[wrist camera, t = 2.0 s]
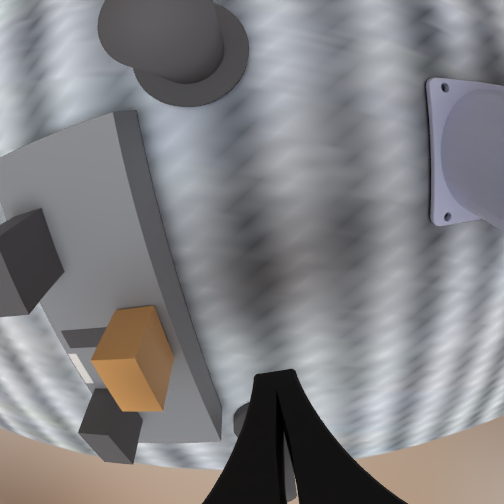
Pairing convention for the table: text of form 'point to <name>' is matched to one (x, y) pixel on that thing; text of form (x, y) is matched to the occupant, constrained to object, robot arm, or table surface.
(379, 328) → the table surface
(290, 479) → the post
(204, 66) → the grey disc-based knob
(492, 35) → the table surface
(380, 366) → the table surface
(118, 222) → the box
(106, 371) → the switch
